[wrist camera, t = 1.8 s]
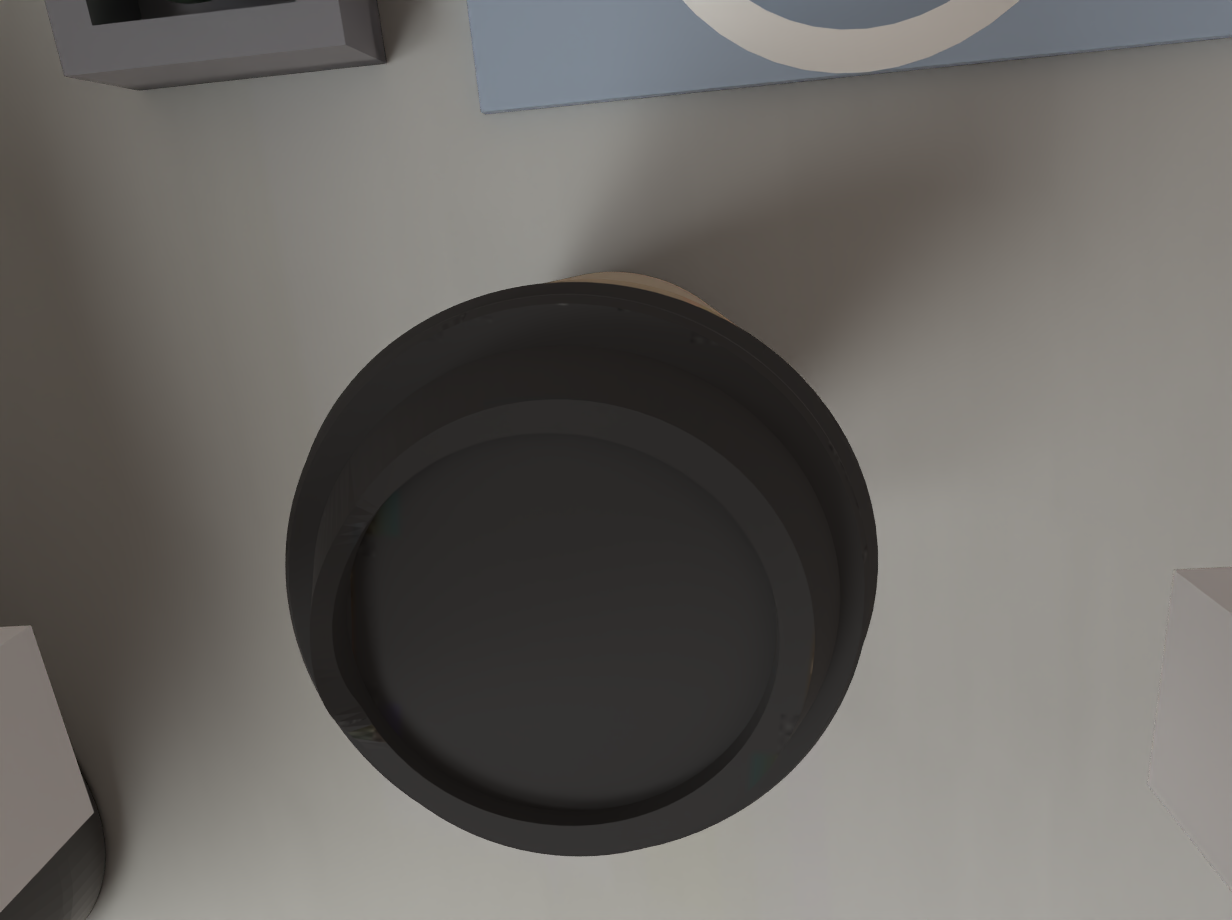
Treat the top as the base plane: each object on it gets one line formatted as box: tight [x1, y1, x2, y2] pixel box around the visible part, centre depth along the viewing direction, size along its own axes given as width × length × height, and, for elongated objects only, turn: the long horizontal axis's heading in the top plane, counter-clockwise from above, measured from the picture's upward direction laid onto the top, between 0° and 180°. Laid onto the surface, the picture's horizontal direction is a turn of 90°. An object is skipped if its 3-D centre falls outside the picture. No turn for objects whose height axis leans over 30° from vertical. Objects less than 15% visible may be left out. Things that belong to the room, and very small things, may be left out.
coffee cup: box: [285, 272, 878, 856], centre depth 18 cm, size 9×9×15 cm
